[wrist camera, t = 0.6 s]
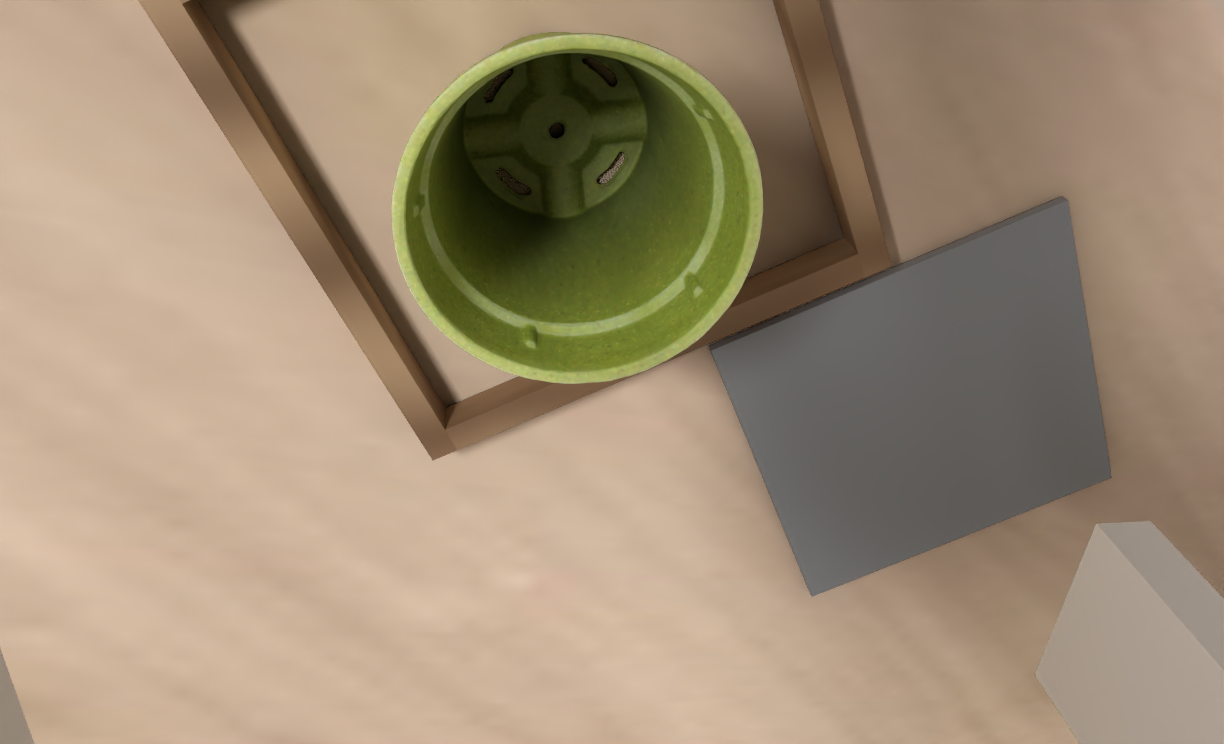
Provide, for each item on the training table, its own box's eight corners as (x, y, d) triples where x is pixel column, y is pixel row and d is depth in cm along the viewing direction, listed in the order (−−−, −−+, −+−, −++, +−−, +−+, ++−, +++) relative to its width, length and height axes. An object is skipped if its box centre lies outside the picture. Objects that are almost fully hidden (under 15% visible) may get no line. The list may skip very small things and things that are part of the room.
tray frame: (142, -25, 28) (127, -16, 27) (721, -302, 27) (734, -307, 26) (433, 437, 38) (432, 460, 36) (876, 249, 36) (891, 266, 35)
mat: (708, 345, 37) (711, 350, 37) (1061, 196, 36) (1067, 199, 36) (808, 590, 44) (811, 596, 44) (1106, 472, 43) (1111, 477, 43)
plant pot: (583, 306, 36) (617, 439, 28) (351, 162, 32) (320, 272, 24) (750, 95, 33) (837, 182, 25) (516, -92, 29) (537, -55, 21)
